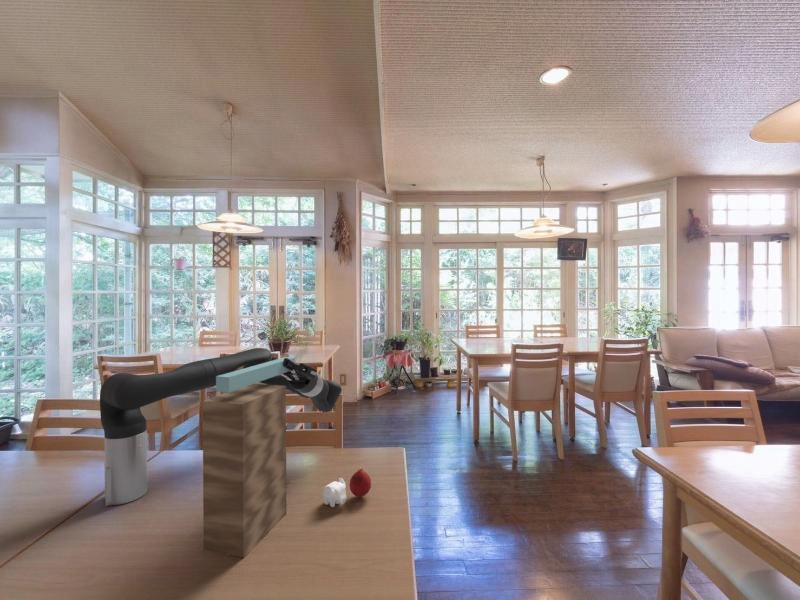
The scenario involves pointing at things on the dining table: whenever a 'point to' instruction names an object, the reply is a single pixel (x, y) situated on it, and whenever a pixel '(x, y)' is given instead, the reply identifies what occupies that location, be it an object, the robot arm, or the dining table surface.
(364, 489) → the onion
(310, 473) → the dining table surface
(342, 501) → the elephant figurine
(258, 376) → the rail
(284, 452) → the pedestal
